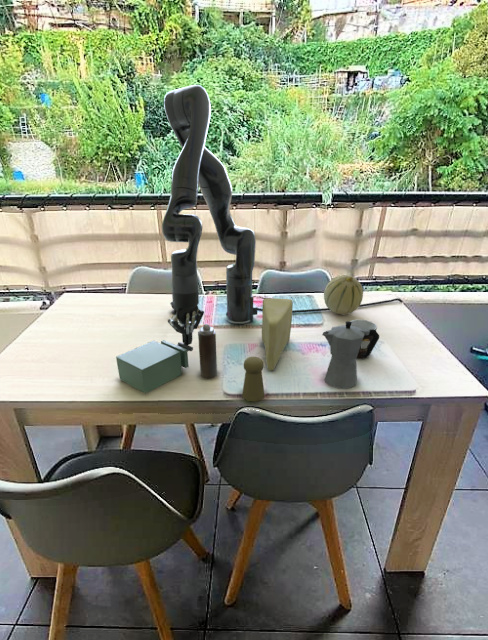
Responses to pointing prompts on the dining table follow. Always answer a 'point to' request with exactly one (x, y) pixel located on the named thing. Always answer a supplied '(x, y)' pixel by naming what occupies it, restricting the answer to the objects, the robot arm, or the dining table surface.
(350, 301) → the cantaloupe
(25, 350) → the dining table surface
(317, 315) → the dining table surface
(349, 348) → the coffeepot
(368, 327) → the coffee mug
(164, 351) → the cabinet
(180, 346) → the drawer
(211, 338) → the pepper mill
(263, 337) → the cheese
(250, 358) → the olive rounded tall piece
